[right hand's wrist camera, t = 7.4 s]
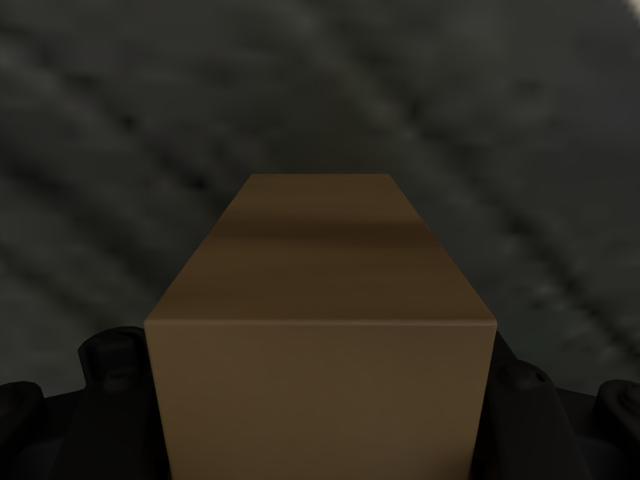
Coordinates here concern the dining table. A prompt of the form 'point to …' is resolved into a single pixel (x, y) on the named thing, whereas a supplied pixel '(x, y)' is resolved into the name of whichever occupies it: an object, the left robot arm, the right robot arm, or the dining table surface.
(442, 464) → the bar
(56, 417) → the right robot arm
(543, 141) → the dining table surface
